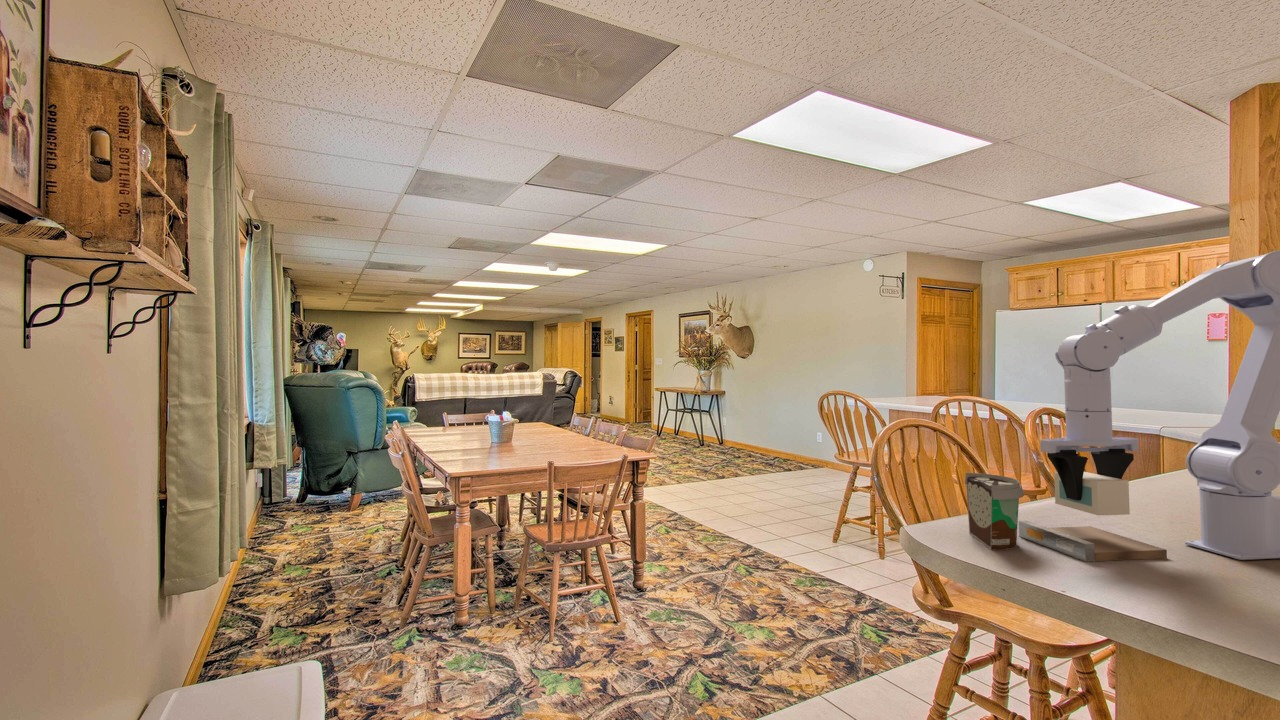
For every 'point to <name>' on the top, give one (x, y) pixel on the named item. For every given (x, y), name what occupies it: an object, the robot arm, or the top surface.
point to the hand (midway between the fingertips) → (1090, 498)
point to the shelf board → (1114, 544)
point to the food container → (993, 509)
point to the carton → (1097, 495)
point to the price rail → (1057, 541)
